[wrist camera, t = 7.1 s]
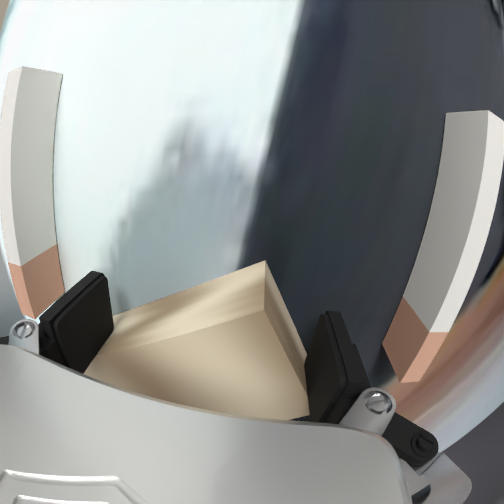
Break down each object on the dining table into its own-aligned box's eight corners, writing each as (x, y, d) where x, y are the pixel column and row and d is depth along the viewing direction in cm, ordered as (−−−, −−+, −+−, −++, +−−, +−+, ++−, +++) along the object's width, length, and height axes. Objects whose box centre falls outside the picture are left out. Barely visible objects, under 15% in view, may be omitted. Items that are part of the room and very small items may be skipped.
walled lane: (463, 122, 8) (505, 123, 6) (399, 343, 13) (418, 381, 10) (47, 78, 8) (8, 73, 6) (51, 287, 13) (21, 313, 10)
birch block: (265, 257, 12) (263, 309, 8) (307, 353, 14) (316, 413, 10) (83, 324, 14) (50, 364, 10) (137, 390, 16) (117, 433, 12)
